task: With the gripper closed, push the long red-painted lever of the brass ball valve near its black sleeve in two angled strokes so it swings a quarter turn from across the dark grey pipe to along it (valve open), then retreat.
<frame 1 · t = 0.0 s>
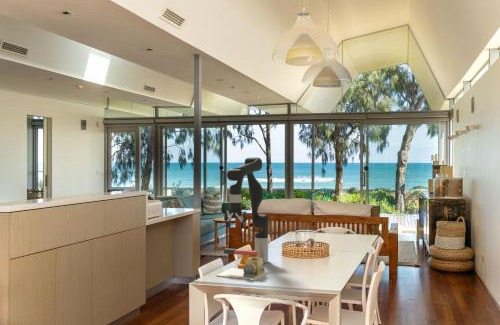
hand: (235, 228, 309), 29 cm above the table, fingers open, 8 cm apart
bracket: (246, 268, 331), on the table
base plate: (243, 274, 312), on the table
lever: (240, 252, 314), point 14 cm above the table, hinge at 0.0°
valve: (254, 275, 310), resting on base plate
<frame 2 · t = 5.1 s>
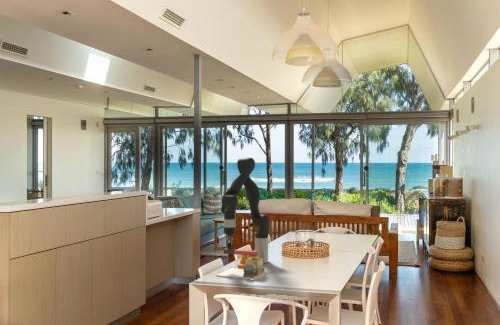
hand: (229, 253, 321), 12 cm above the table, fingers closed
lever: (240, 252, 314), point 14 cm above the table, hinge at 1.0°, touching gripper
everything else where it was.
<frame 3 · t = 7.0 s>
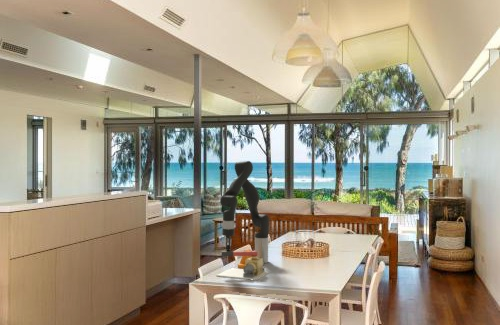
hand: (228, 255, 313), 12 cm above the table, fingers closed
lever: (239, 253, 310), point 14 cm above the table, hinge at 27.8°, touching gripper
everything else where it was.
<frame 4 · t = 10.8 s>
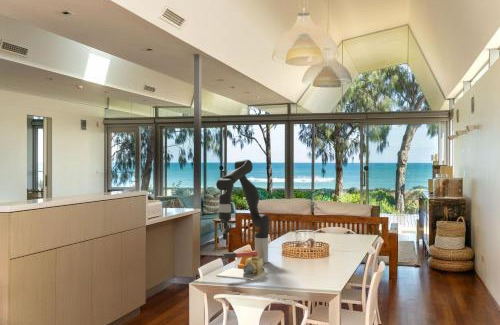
hand: (224, 239, 309), 22 cm above the table, fingers closed
lever: (241, 254, 306), point 14 cm above the table, hinge at 49.5°
everything else where it was.
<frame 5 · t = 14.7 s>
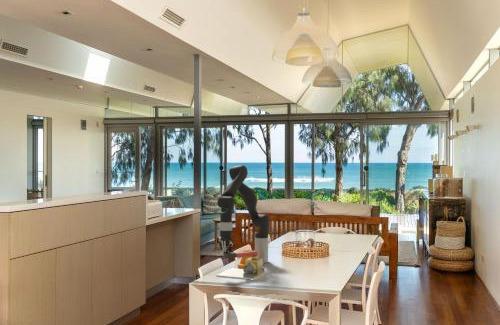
hand: (225, 257, 306), 12 cm above the table, fingers closed
lever: (241, 254, 306), point 14 cm above the table, hinge at 49.8°, touching gripper
everything else where it was.
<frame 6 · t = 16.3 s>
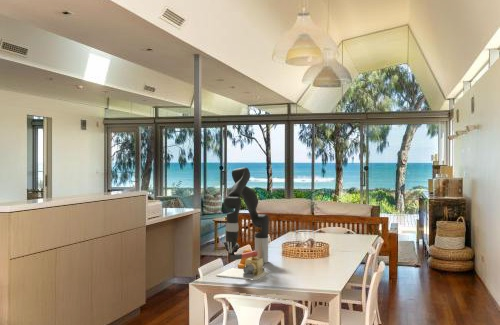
hand: (231, 259, 301), 12 cm above the table, fingers closed
lever: (244, 255, 304), point 14 cm above the table, hinge at 71.2°, touching gripper
everything else where it was.
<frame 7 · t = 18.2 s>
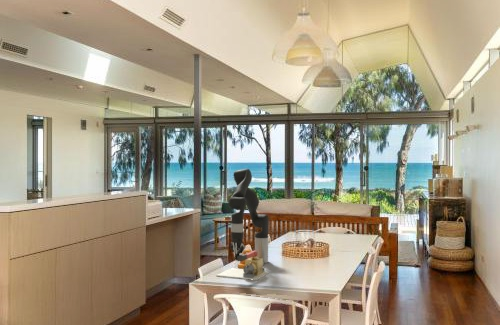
hand: (237, 260, 298), 12 cm above the table, fingers closed
lever: (247, 255, 302), point 14 cm above the table, hinge at 86.4°, touching gripper
everything else where it was.
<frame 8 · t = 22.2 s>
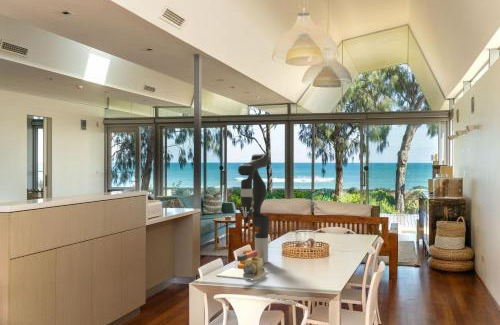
hand: (246, 223, 320), 31 cm above the table, fingers closed
lever: (247, 255, 302), point 14 cm above the table, hinge at 86.5°
everything else where it was.
at the end: lever at +86° (first picture: +0°) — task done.
